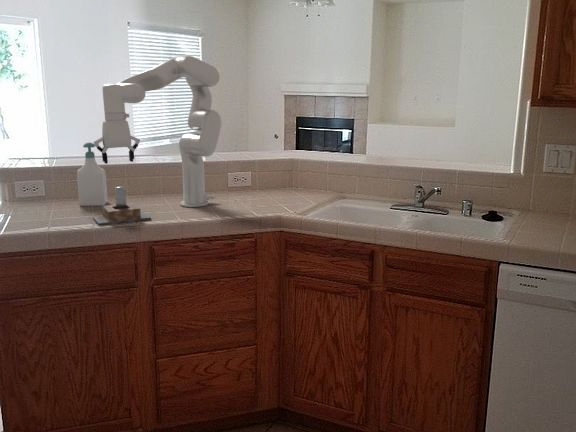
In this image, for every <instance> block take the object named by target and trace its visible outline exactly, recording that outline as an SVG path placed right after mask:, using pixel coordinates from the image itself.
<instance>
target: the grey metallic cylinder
mask: <svg viewBox="0 0 576 432" xmlns="http://www.w3.org/2000/svg"><path fill="white" fill-rule="evenodd" d="M114 198H115V205H116V209H124V208H127V206H126V204H127V193H126V186H122V185H120V186H114Z"/></svg>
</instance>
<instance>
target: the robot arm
mask: <svg viewBox="0 0 576 432" xmlns="http://www.w3.org/2000/svg"><path fill="white" fill-rule="evenodd" d="M182 78H185V81H186V83H187V85H188V86H189V88H190V90H191V92H192V99H191V104H190V105H191V106H190V108H189V109H190V110H189V113H188V117H187V126H188V128H189V129H190V130H192V131H196V133H195V132H189V133H185V134H183V135H182V136H181V137H180V138H179V141H178V150H179V153H180V157H181V167H182V168H181V170H182V173H181V174H182V194H183V195H182V197H183V200H181V201H179V205H180V206H181V207H186V208H198V207H204V206H206V207H207V206H208V205H209V204H210V203H209V202H210V201H209V200H215V199H216V194H207V193H206V186H205V163H204V159H203V157H204V158H208V157H211V156H212V155H213V154H214V153H215V151H216V149H217V146H218V142H219V138H220V134H221V128H222V116H221V115H220V113H219V112H218V111H216V110H214V109H212V103H213V96H212V92H211V90H210V88H212V87H215V86H217V85H218V83H219V82H220V79H221V78H220V72H219V71H218V69H217V68H216V67H215V66H213V65H211V64H209V63H207V62H205V61H203V60H202V59H199V58H197V57H194V56H191V55H183V56H182V55H179V56H178V55H177V56H174V57H171V58H169V59H167V60H165V61H163V62H162V63H160V64H158V65H156V66H154V67H151V68H149V69H147V70H144V71H142V72H139V73H137V74H135V75H131V76H129V77H127V78H125V79H124V80H122V81H120V82H119V81H118V83H107V84H106V83H105V84H103V86H102V100H103V111H104V120H103V121H102V126H101V127H102V128H101V129H102V132H101V133H102V134H101V135H102V136H101V137H100V138H98V139H96V140H95V141H93V142H92V143H93V144H94V145H95V147H96V149H97V150H98V151H99V152H101V157H102V158H101V159H102V162H103V163H104V164H108V162H109V161H108V153H107V152H108V149H117V148H128V150H129V151H128V156H129V157H128V160H129V162H131V163H133V162H134V160H135V154H134V153H135V150H136V149H137V148H138V146H139V144H140V142H141V140H140V138H137V137H135V136H133V135H131V130H130V125H129V121H128V120H127V119H128V118H130V113H126V107H125V106H126V105H125V104H139V103H141V102H143V101H144V99H145V98H146V93H147V92H151V91H152V92H153V91H156V90H157V91H158V90H160V89H164V88H165V87H167V86H169V85H171V84H172V83H174V82H176V81H177V80H179V79H182ZM197 132H200V133H197ZM132 141H135V142H134V144H133V145H132ZM101 143H102V147H101V146H100V144H101Z"/></svg>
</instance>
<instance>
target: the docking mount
mask: <svg viewBox="0 0 576 432" xmlns="http://www.w3.org/2000/svg"><path fill="white" fill-rule="evenodd" d="M101 206H102V207H101V208H102V215H95V216H94V215H93V216H92V220H93V221H94V223H96V225H97V226H98V227H100V226H101V225H102V226H109V225H110V224H111V225H120V224H126V222H129V223H136V222H135V221H138V222H144V221H146V220H147V221H152V217H151V216H150V215H148V214H147V213H146V212H144V211H141V208H140V207H139V206H137V205H136V204H135V203H133V202H128V203H127V202H126V206H127V208H124V209H116V204H108V205H107V204H105V205H101ZM119 223H120V224H119Z"/></svg>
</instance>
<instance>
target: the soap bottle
mask: <svg viewBox="0 0 576 432" xmlns="http://www.w3.org/2000/svg"><path fill="white" fill-rule="evenodd" d="M95 147H96V146H95V145H94V143H93V142H89V141H88V142H86V143H84V144H83V148H87V151H86V152H85V154H84V155H85V159H84V161H85V162H84V164H83V165H82V166H81V167H80V168H78V169H77V170H76V182H77V191H78V193H77V194H78V205H79V206H81V207H82V206H83V207H84V206H87V207H88V206H106V205H107V203H108V201H109V200H108V189H107V187H108V186H107V175H106V173H107V172H106V170H105V169H104V168H102V167H101V166H100V165H99V164H98V163H97V161H96V158H95V157H96V156H95V152H94V151H92V148H95Z"/></svg>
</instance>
